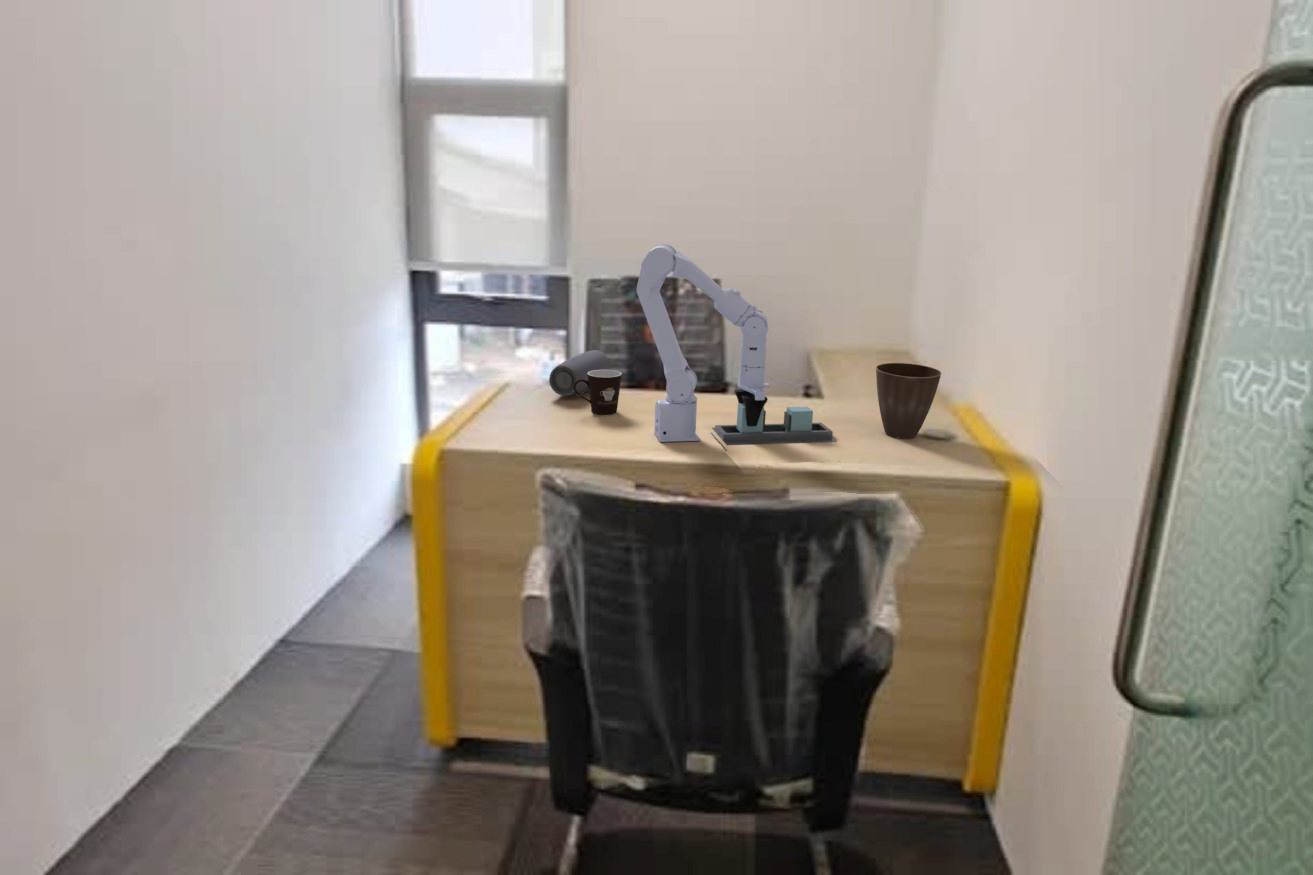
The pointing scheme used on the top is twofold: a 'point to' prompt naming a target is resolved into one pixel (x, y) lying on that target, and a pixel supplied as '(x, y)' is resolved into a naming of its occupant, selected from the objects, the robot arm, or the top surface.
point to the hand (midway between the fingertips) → (749, 423)
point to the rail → (773, 435)
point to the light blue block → (798, 419)
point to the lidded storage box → (743, 424)
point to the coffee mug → (602, 391)
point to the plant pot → (905, 396)
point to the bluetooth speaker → (576, 372)
